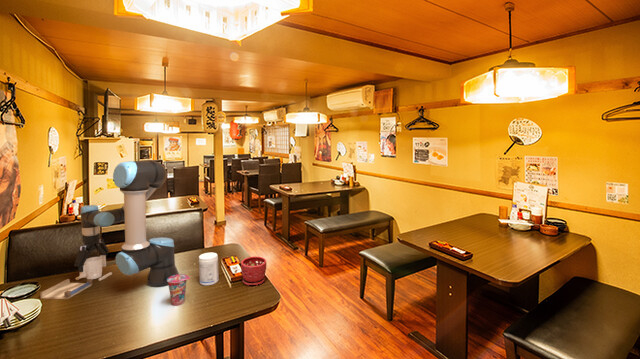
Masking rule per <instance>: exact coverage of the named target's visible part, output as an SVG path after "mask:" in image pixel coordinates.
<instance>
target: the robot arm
mask: <svg viewBox="0 0 640 359" xmlns="http://www.w3.org/2000/svg"><path fill="white" fill-rule="evenodd" d="M112 173H113V174H112V180H113V182H114V185H115V186H116V187H117V188H119V191H120V192H121V193H122V194H123V205H122V206H121V207H119V208H114V209H107V210H100V209H99V206H98V205H96V204H89V205H83V206H81V207H80V213H79V214H80V223H81V233H82V236H81V239H82V243H83V246H82V245H81V246H78V252H77V254H76V258H75V260H74V263H73V265H74V266H73V267H77V269H78V273H79V276H80V277H83V278H86V269H85V265H84V263H85V261H86V259H88V257H89V255H90V254H91V253H92V252H93V251H96V252H98V254H100V255H99V257H102V268H105V267H107V255H109V253H110V251H109V248H108V246H107V244H106V243H105V240H104V238H101V234H100V232H101V229H100V227H101V228H106V227H107V228H108V227H110V226H112V225H113V224H118V223H121V222H124V243H123V244H122V245H121V251H120V252H118V253H116V256H115V263H116V266H117V268H118V270H119V271H120V272H121V273H122V274H123V275H126V276H131V275H134V274H138V273H140V272H142V271H145V270H147V269H149V271H148V275H147V278H146V285H148V286H149V287H151V288H152V287H153V288H160V287H166V286H169V285H168V281H167V279H168V278H169V277H171V276H173V275H177V274H180V272H179V271H178V268H177V266H176V260H175V258H176V257H175V255H176V254H175V248H176V247H175V243H174V239H172V238H170V237H153V238H150V239H149V240H147V215H146V214H147V208H146V206H147V205H146V204H147V203H146V202H147V201H148V199H150V197H151V196H152V194H154V192H155V191H156V190H157V189H160V188H161V187H162V186H163V185H164V183H166V180H167V177H168V173H167V169H166V167H165V166H164V165H163V164H162V163H160V162H158V161H155V160H135V161H134V160H133V161H132V160H131V161H122V162H119V163H118V164H117V165H116V166H115V168H114V171H113V172H112Z"/></svg>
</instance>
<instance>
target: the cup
mask: <svg viewBox="0 0 640 359" xmlns="http://www.w3.org/2000/svg"><path fill="white" fill-rule="evenodd" d="M190 279H191V277H190V276H189V275H187V274H183V273H179V274H177V275H173V276H171V277H169V278H168V279H167V281H168V285H167V286H168V290H169V295H170V299H171V300H170V301H171V305H172V306H173V307H177V306H178V307H179V306H181V305H183V304H184V303H185V302H186V301H185V300H186V292H187V291H186V290H187V281H188V280H190Z"/></svg>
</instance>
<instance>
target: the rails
mask: <svg viewBox="0 0 640 359" xmlns="http://www.w3.org/2000/svg"><path fill="white" fill-rule="evenodd" d="M111 275H113V272H112V271H110V272H108V273H106V274H104V275H102V276H101V277H99V278H98V281H99V282H100V281H102V280H105V279H106V278H108V277H110V276H111ZM83 278H84V277H80V275H79V276H77V277H75V280H76V281H79V280H80V279H83Z"/></svg>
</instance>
